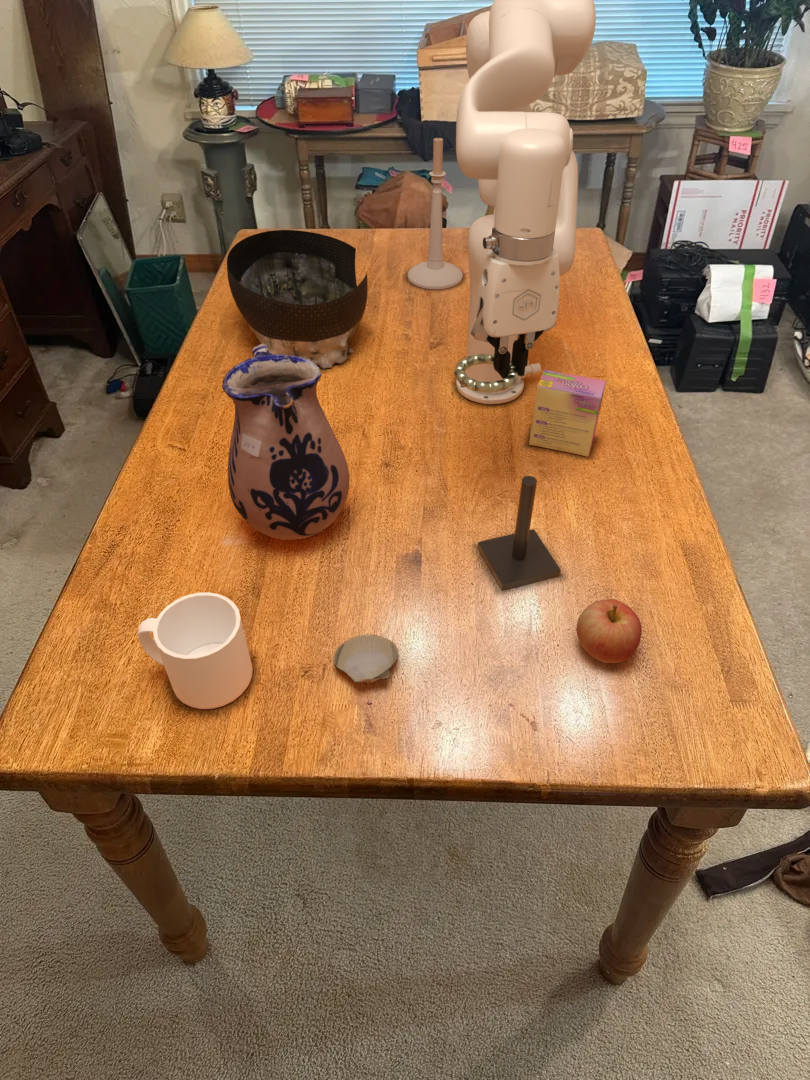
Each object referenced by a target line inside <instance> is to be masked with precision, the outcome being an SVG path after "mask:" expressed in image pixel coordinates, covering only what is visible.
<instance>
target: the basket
mask: <svg viewBox="0 0 810 1080" xmlns="http://www.w3.org/2000/svg"><path fill="white" fill-rule="evenodd" d="M356 251H357V248H356V247H354V246H353V245H351V244H350V243H347V242H345V241H343V240H341V239H338V238H336V237H333V236H330V235H326V234H322V233H318V232H312V231H304V230H298V229H297V230H294V229H275V230H267V231H263V232H258V233H255V234H251V235H249V236H247V237H245V238H243V239H241V240H240V241H238V242H237V243H235V244H234V245H233V247H232V248H230V250H229V252H228V254H227V259H226V273H227V274H226V275H227V280H228V286H229V290H230V294H231V296H232V298H233V301H234V304H235V306H236V307H237V309H238V311H239V313H240V314H241V316H242V318H243V319H244V321H245V322H246V324H247V325H248V327H249V328H250V330H251V331H252V333H253V334H254V335H255V337H256V338H257V340H258V341H259V343H260V344H265V345H266V346H267V347H268V349H269V352H270V353H271V354H273V355H294V356H298V357H302V358H306V359H310V360H311V361H312V362H313V363H314V364H316V365H317V366H318V367H319V368H320V369H330V368H333V365H335V364H343V363H345V362H346V361H347V360H348V354H350V353H351V354H353V352H354V349H353V348H352V347H350V346H349V344H350V342H351V341H352V338H353V336H354V334H355V333H356V331H357V329H358V327H359V325H360V323H361V321H362V319H363V317H364V314H365V310H366V307H367V301H368V290H369V289H368V288H369V286H368V285H369V283H368V282H369V281H368V271H366V273H365V276H364V277H363V278H362V280H361V281H360V282H359V283H358V284H357V275H356V253H357V252H356Z"/></svg>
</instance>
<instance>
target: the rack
mask: <svg viewBox="0 0 810 1080" xmlns="http://www.w3.org/2000/svg"><path fill="white" fill-rule="evenodd" d="M537 485H538V479H537V478H536V477H535V476H533V475H525V476H523V477H522V478H521V483H520V489H519V490H520V491H519V496H518V497H519V498H518V505H517V513H516V519H515V526H514V527H515V528H514V533H511V534H507V535H502V536H499V537H498V536H497V537H494V538H490V539H485V540H481V541H478V542H477V549H478V551H479V553H480V554H481V556H482V558H483V560H484V561H485V563H486V565H487V567H488V569H489V570H490V573H491V574H492V575H493V576H492V577H494V579H495V581H496V583H497V585H498V586H499V588H500V590H501V591H505V590H508V589H513V588H517V587H520V586H524V585H525V586H526V585H528V584H532V583H536V582H541V581H544V580H548V579H553V578H556V577H559V576H561V572H562V570H561V568H560V566H559V565H558V564H557V562H556V560H555V559H554V557H553V556H552V554H551V553H550V551H549V550H548V548H547V547H546V545H545V544H544V542H543V540H542V539H541V538H540V536H539V535H538V532H537V531H536V530H535V529H534V528H532V529H531V524H532V517H533V511H534V504H535V498H536V491H537Z"/></svg>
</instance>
